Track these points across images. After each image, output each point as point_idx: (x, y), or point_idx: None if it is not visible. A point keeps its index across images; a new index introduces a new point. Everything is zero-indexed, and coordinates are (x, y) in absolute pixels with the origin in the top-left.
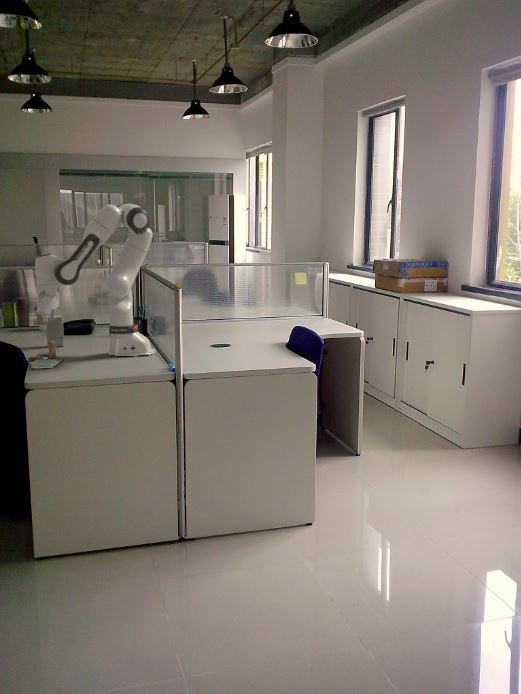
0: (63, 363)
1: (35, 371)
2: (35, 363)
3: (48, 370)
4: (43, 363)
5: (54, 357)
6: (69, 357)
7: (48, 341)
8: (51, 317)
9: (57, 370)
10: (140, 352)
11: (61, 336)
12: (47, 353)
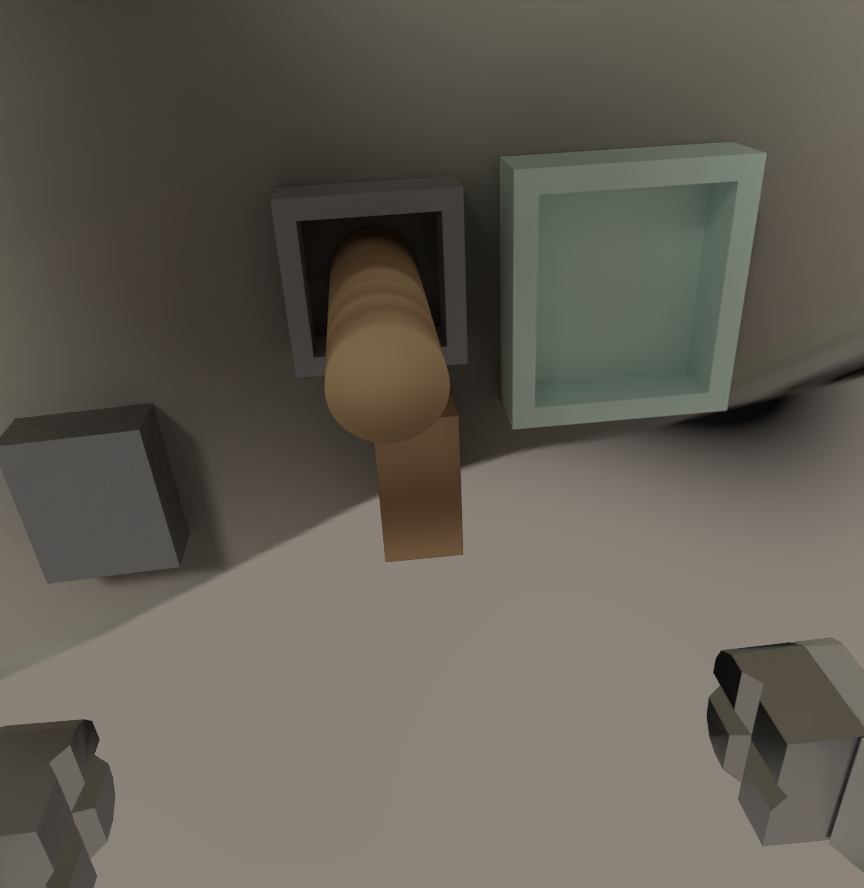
0: (412, 102)
1: (819, 294)
2: (725, 365)
3: (807, 152)
4: (749, 263)
5: (404, 255)
6: (7, 167)
7: (391, 437)
8: (92, 809)
9: (839, 18)
10: None
11: None
12: (80, 479)
